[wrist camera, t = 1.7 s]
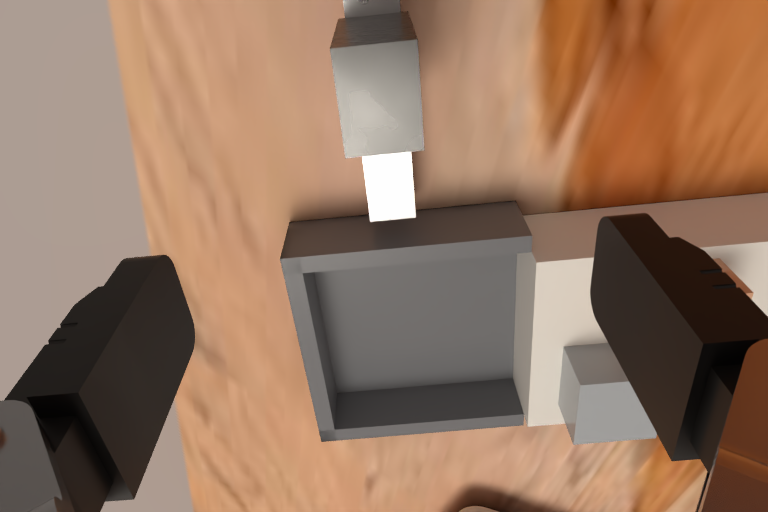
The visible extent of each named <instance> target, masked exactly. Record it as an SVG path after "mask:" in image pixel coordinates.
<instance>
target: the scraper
mask: <svg viewBox="0 0 768 512" xmlns="http://www.w3.org/2000/svg"><path fill="white" fill-rule="evenodd" d="M343 4H344V12H345V18H342V19H338V22H337V25H336V29H335V32H334V36H333V40H332V43H331V47H330V52H331V59H332V67H333V74H334V81H335V88H336V95H337V102H338V110H339V117H340V124H341V131H342V138H343V145H344V152H345V158H354V157H362V158H363V167H364V175H365V183H366V191H367V199H368V207H369V215H370V222H374V221H384V220H395V219H405V218H416V210H415V197H414V184H413V170H412V157H411V152H415V151H424V135H423V119H422V102H421V86H420V70H419V53H418V39H417V36H416V33H415V31H414V28H413V25H412V22H411V19H410V17H409V14H408V11H407V12H401V9H400V0H343Z"/></svg>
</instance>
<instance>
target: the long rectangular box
mask: <svg viewBox="0 0 768 512" xmlns="http://www.w3.org/2000/svg"><path fill="white" fill-rule="evenodd" d="M637 213H647V214H649V215H650V216H651V217H652V218H653V220H654V221H655V222H656V223H657V224H658V225H659V226H660V227H661V229H662V230H663V231H664V232H665V233H666V234H667V235H668V236H669V238H671V237H680V238H682V239H684V240H686V241H687V242H689V243H691V244H693V245H695V246H697V247H699V248H700V249H702V250H704V251H706V253H707V254H708V255H709V256H710V257H711V258H712V259H718V258H720V259H721V260H722V261H723V262H724V263H725V264H726V265H727V266H728V267H729V268H730V269H731V270H732V271H733V272H734V273H735V274H736V275H737V276H738V277H739V278H740V279H741V280H742V281H743V282H744V283H745V284H746V285H747V286H748V287H749V289H750V290H751V291H752V292H753V293H754V294H753V297H752V301H753V302H754V303H755V304H756V305H757V306H758V307H759V308H760V309H761V310H762V311H763V312H764V313H765V314H766V315H767V316H768V193H759V194H748V195H737V196H727V197H716V198H705V199H695V200H684V201H673V202H663V203H652V204H641V205H631V206H620V207H610V208H599V209H588V210H578V211H567V212H556V213H546V214H535V215H524V216H523V217H524V219H525V221H526V223H527V225H528V227H529V229H530V232H531V234H532V252H530V253H519V254H517V271H516V302H515V333H514V364H513V380H514V383H515V386H516V390H517V393H518V396H519V400H520V403H521V406H522V410H523V413H524V416H525V420H526V423H527V426H528V427H530V426H542V425H554V424H565V421H564V418H563V416H562V413H561V410H560V408H559V405H558V400H559V389H560V378H561V368H562V357H563V347H565V346H577V345H588V344H600V343H608V341H607V340H606V338H605V336H604V334H603V332H602V330H601V328H600V327H599V325H598V323H597V321H596V319H595V316H594V313H593V310H592V305H591V298H590V286H591V277H592V269H593V261H594V253H595V244H596V236H597V229H598V224H599V222H600V220H601V218H602V217H604V216H615V215H626V214H637Z"/></svg>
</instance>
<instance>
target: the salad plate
mask: <svg viewBox="0 0 768 512" xmlns="http://www.w3.org/2000/svg"><path fill="white" fill-rule="evenodd" d="M459 512H499V511H495V510H492V509H489V508H485V507H482V506H470V507H466V508H464V509H462V510H460V511H459Z"/></svg>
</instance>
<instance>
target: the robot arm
mask: <svg viewBox="0 0 768 512" xmlns="http://www.w3.org/2000/svg"><path fill="white" fill-rule="evenodd" d="M590 298H591V305H592V310H593V313H594V316H595V319H596V321H597V323H598V325H599V327H600V328H601V330H602V332H603V334H604V336H605V338H606V340H607V341H608V343H609V345H610V347H611V349H612V351H613V353H614V354H615V356H616V358H617V360H618V362H619V364H620V366H621V368H622V369H623V371H624V373H625V375H626V377H627V379H628V381H629V382H630V384H631V386H632V388H633V390H634V392H635V394H636V395H637V397H638V399H639V401H640V403H641V405H642V407H643V408H644V410H645V412H646V414H647V416H648V418H649V420H650V421H651V423H652V425H653V427H654V429H655V431H656V433H657V435H658V436H659V438H660V440H661V442H662V444H663V446H664V448H665V449H666V451H667V453H668V455H669V457H670V459H671V461H680V460H693V459H701V461H702V463H703V464H704V466H705V468H706V469H707V471H708V472H707V475H706V478H705V481H704V484H703V488H702V491H701V494H700V498H699V501H698V505H697V508H696V511H695V512H768V316H767V315H766V314H765V313H764V312H763V311H762V310H761V309H760V308H759V307H758V306H757V305H756V304H755V303H754V302H753V301H752V300H751V298H750V297H749V296H748V295H747V294H746V293H745V292H744V291H743V290H742V289H741V288H740V287H738V288H737V287H736V283H735V282H734V281H733V280H732V279H731V278H730V277H729V276H728V274H727V273H726V272H722V268H721V267H720V266H719V265H718V264H717V263H716V262H715V261H714V260H713V259H712V258H711V257H710V256H709V255H708V254H707V253H706V251H704V250H702V249H700V248H699V247H697V246H695V245H693V244H691V243H689V242H687V241H686V240H684V239H682V238H680V237H671V238H669V236H668V235H667V234H666V233H665V232H664V231H663V230H662V229H661V227H660V226H659V225H658V224H657V223H656V222H655V221H654V220H653V218H652V217H651V216H650V215H649V214H647V213H637V214H626V215H615V216H604V217H602V218H601V220H600V222H599V224H598V229H597V236H596V244H595V253H594V261H593V269H592V277H591V286H590ZM60 325H61V328H57V330H56V331H55V332H54V333H53V335H52V336H51V338H50V339H49V344H48V345H45V346H44V347H43V348H42V350H41V351H40V352H39V354H38V355H37V357H36V358H35V359H34V361H33V362H32V363H31V365H30V366H29V367H28V369H27V370H26V371H25V373H24V374H23V375H22V377H21V378H20V380H19V381H18V382H17V384H16V385H15V386H14V388H13V389H12V390H11V392H10V393H9V394H8V396H7V397H6V398H5V400H4V401H0V512H100V511H101V509H102V506H103V504H104V502H105V501H118V500H132V499H134V498H135V496H136V493H137V491H138V488H139V485H140V483H141V481H142V478H143V476H144V473H145V471H146V468H147V466H148V463H149V461H150V458H151V456H152V453H153V451H154V448H155V446H156V443H157V441H158V438H159V435H160V433H161V430H162V428H163V425H164V423H165V420H166V418H167V415H168V413H169V410H170V408H171V405H172V403H173V400H174V398H175V395H176V393H177V390H178V388H179V385H180V383H181V380H182V378H183V375H184V373H185V370H186V368H187V365H188V363H189V360H190V358H191V355H192V352H193V349H194V343H195V329H194V323H193V319H192V316H191V313H190V310H189V307H188V304H187V302H186V299H185V296H184V293H183V290H182V287H181V284H180V281H179V278H178V275H177V272H176V270H175V267H174V264H173V262H172V260H171V259H170V258H169V257H168V256H167V255H157V256H146V257H134V258H126V259H123V260H122V261H121V262H120V264H119V265H118V266H117V268H116V269H115V271H114V272H113V274H112V275H111V276H110V278H109V279H108V281H107V282H106V284H105V285H104V286H102V287H98V288H96V289H95V290H93V291H92V292H91V293H89V294H88V295H87V296H85V297H84V298H83V299H82V300H80V301H79V302H78V303H76V304H75V305H74V306H73V308H72V309H71V310H70V312H69V313H68V315H67V316H66V317H65V319H64V320H63V321H62V323H61V324H60Z"/></svg>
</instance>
